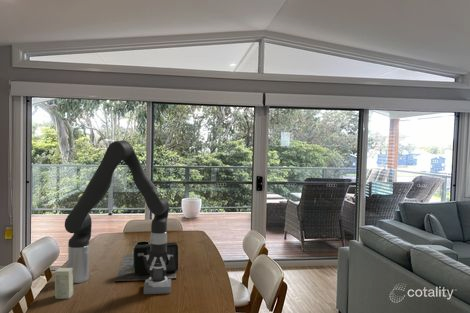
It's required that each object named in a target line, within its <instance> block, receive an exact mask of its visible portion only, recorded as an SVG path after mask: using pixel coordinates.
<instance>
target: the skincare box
mask: <svg viewBox="0 0 470 313" xmlns="http://www.w3.org/2000/svg"><path fill="white" fill-rule="evenodd" d="M54 294H55V295H54V298H55V299H58V300H60V299H61V300H63V299H71V298H72V296H73V295H74V283H73V268H67V267H58V268H57V269H56V270H54Z"/></svg>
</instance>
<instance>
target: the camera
mask: <svg viewBox="0 0 470 313" xmlns="http://www.w3.org/2000/svg"><path fill="white" fill-rule="evenodd" d="M133 252H134V254H133V256H134V257H133V258H134V275H135V276H143V275H150V270H149V269H146V267H145V263H144V259H143V257H144V255H149V254H150V243H149V244H139V245H135V246H134V249H133ZM167 254H168V255H173V259H172V263H171V266H170V268H169V269H166V273H173V272H177V271H178V270H179V246H178V243H177V242H175V241H173V242H167ZM151 263H152V260H151V259H150V257H149V258H148V264H149V266H151ZM168 263H169V259H168V257H167V258H166V259H165V264H166V265H168Z"/></svg>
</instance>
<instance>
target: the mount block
mask: <svg viewBox="0 0 470 313" xmlns="http://www.w3.org/2000/svg"><path fill="white" fill-rule="evenodd" d="M171 290H172V278H168V277H167V275H166V276H165V277H164V278H163V281H161V282H154V281H153V278H151V277H150V276H149V277H148V279H145V281H144V285H143V295H152V294H153V295H156V294H159V295H161V294H171Z"/></svg>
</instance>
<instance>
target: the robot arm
mask: <svg viewBox="0 0 470 313" xmlns="http://www.w3.org/2000/svg"><path fill="white" fill-rule="evenodd" d="M122 161H123V162H124V164H125V165H126V166H127V167H128V168H129V171H130V173H131V176H132V180H133V182H134V185H135V186H136V188H137V189H138V191H139V193H140V194H141V195H142V197H143V198H144V202H145V203H146V206H147V209H148V210H149V211H150V212H151V214H153V219H152V220H151V225H150V226H151V229H150V240H149V242H150V243H149V244H150V254H149V255H144V257H143V259H144V263H145V267H146V269H149V270H150V274H149V277H151V278H153V266H154V264H155V263H162V266H163V278H164V277H165V276H166V277H167V272H166V269H169V268H170V266H171V263H172V259H173V255H168V254H167V243H168V233H167V232H168V230H167V229H168V228H167V226H168V223H167V222H168V218H169V212H170V204H169V201H168V199H166V198H165V197H159V195H158V189H157V187H156V186H155V184H154V183H153V181H152V180H151V178H150V177H149V176H148V174H147V172H146V170H145V169H144V166H143V165H142V163H141V161H140V159H139V157H138V155H137V153H136V151H135V149H134V147H133V146H132V144H131V143H130V142H129V141H127V140H115V141H113V142H111V143H110V144H109V145H108V146H107V149H106V151H105V152H104V155H103V158H102V160H101V161H100V163H99V165H98V167H97V169H96V171H95V172H94V173H93V176H92V177H91V178H90V180H89V182H88V184H87V185H86V187H85V189H84V191H83V193H82V194H81V195H80V198H79V199H78V201H77V203H76V204H75V205H74V207H73V208H72V210H71V211H70V213H68V215H67V216H66V218H65V219H64V220H65V221H64V229H65V230H66V231H67V233H69V234H72V236H71V237H70V238H69V240H68V245H67V246H68V248H67V253H68V255H67V256H68V258H67V259H68V261H67V262H66V268H73V284H80V283H84V282H86V281H88V280H89V277H90V276H89V275H90V269H89V268H90V240H91V237H92V217H91V215H90V214H89V213H90V212H91V211H92V209H94V208H95V207H96V206H97V205H99V203H100V202H101V201H102V200H103V199H104V198H105V196H106V195H107V193H108V191H109V190H110V187H111V185H112V181H113V175H114V172H115V170H116V169H117V168H118V166H119V164H120V163H121V162H122ZM149 257H150V259H151V260H152V263H151V266H149V264H148V258H149ZM167 257H168V259H169V263H168V265H166V264H165V259H166V258H167Z"/></svg>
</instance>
